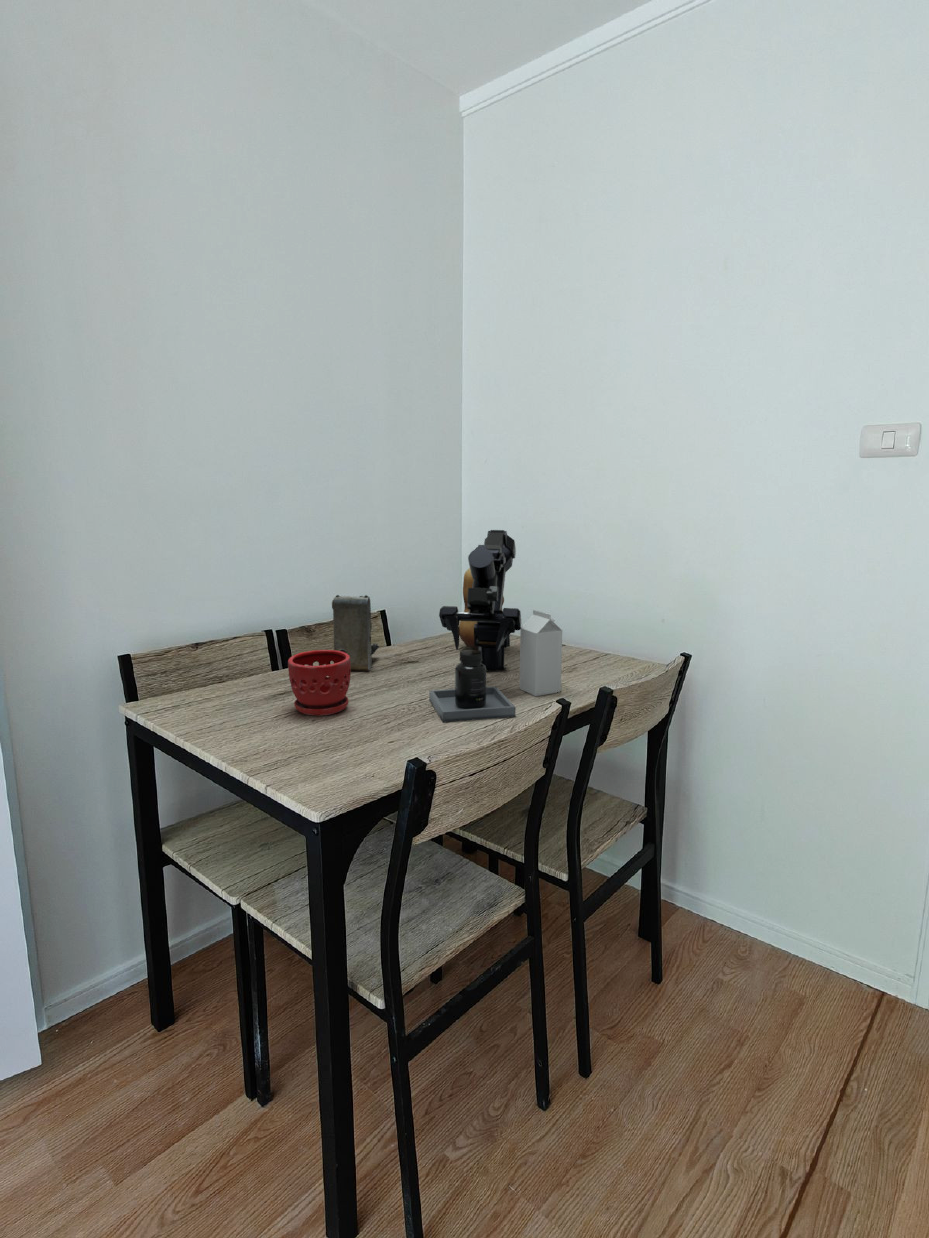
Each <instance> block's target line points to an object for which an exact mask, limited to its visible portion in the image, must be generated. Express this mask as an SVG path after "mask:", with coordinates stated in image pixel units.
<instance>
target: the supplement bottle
mask: <svg viewBox="0 0 929 1238" xmlns="http://www.w3.org/2000/svg"><path fill="white" fill-rule="evenodd" d="M481 661H482V652H481V651H479V650H476V649H464V650H461V651H460V652H459V663H457V664H456V666H455V669H454V689H455V704H456V705H457V706H458V707H459V708H462V709H477V708H482V707H484V706H485V704H486V687H487V671H486V667H485V665H484V664H482V663H481Z"/></svg>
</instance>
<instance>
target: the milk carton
mask: <svg viewBox="0 0 929 1238" xmlns="http://www.w3.org/2000/svg"><path fill="white" fill-rule="evenodd" d="M519 639H520V640H519V641H520V644H519V647H520V648H519V653H520V655H519V689H520V690H521V691H524V692H526V693H528V694H530V695H532V696H534V697H538V696H545V695H552V694H557V692H558V693H561V692H560V691H562V661H563V660H562V659H563V657H562V656H563V629H561V628H560V626H558V625H557V624H556V623H555V619H554V618H553V617H551V614H550V613H546V612H542V611H539V610H536V609H533V610H532V615H531V616H530V617H529V618H528V619H527V620H526V621H525V622H524V623H523V624H522V625H521V629H520V638H519Z"/></svg>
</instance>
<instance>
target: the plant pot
mask: <svg viewBox="0 0 929 1238" xmlns="http://www.w3.org/2000/svg"><path fill="white" fill-rule="evenodd" d="M315 662H317V663H318V665H314V663H315ZM331 662H332V663H331ZM287 667H288V668H287V669H288V679H289V682H290V683H289V684H290V687H291V690H292V692H293V695H294V697H295V698H296V699H295V700H294V703H293V704H294V708H295V709H296V710H297V711H298V712H299V713H301V714H303V715H309V716H317V717H320V716H321V717H322V716H329V715H332V714H337V713H340V712H341V711H343V710H344V709H345V708H346V707H347V706H348V705H349V701H350V699H349V698H348V696H346V695H347V693H348V691H349V688H350V682H351V673H352V671H351V665H350V656H349V655H348V654H347V653H344V652H341V651H336V650H334V649H317V650H314V649H313V650H307V651H303V652H299V653H296V654H294V655H292V656H290V657H289V658H288V660H287Z"/></svg>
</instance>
